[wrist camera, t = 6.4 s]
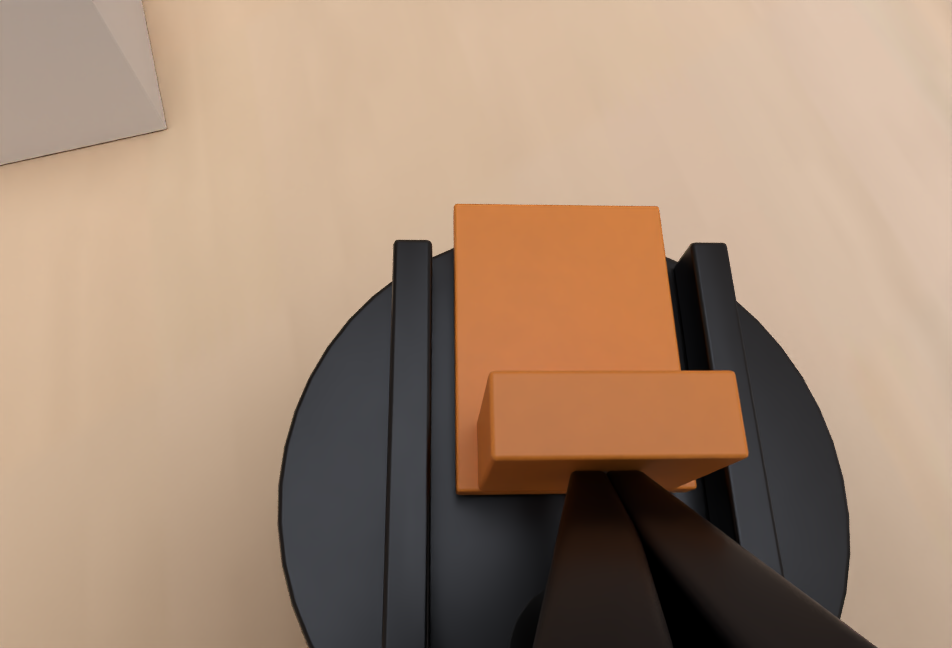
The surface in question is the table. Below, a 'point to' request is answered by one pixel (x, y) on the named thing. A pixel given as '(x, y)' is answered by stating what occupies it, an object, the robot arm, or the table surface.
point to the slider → (576, 354)
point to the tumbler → (515, 515)
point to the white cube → (74, 76)
